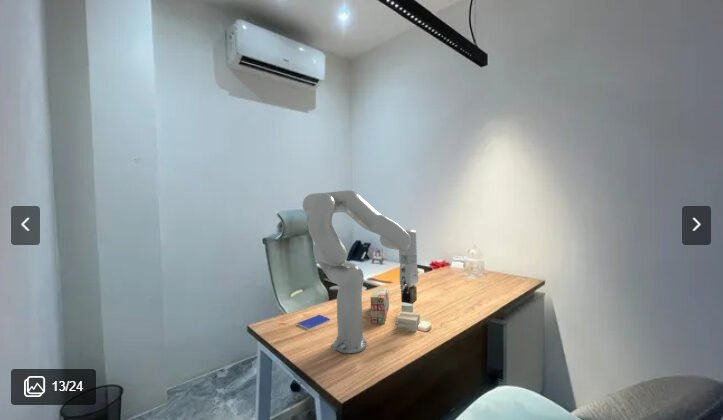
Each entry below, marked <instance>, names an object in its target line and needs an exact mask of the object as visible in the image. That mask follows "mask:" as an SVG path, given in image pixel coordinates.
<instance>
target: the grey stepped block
mask: <svg viewBox="0 0 723 420" xmlns="http://www.w3.org/2000/svg"><path fill="white" fill-rule="evenodd" d="M396 323H397V330H401V331H408V332H412V333H413V332H414V333H417V332H418V330H419V328H418V325H419V323H420V324H421V313H417V312H413V313H411V312H403V311H402V310H401V312H400V313H399V315H398V316H397V322H396Z"/></svg>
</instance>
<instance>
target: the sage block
mask: <svg viewBox="0 0 723 420" xmlns="http://www.w3.org/2000/svg"><path fill="white" fill-rule="evenodd" d="M402 311H403V312H411V313H414V303H413V304H409V303H404V302H401V312H402Z"/></svg>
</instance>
